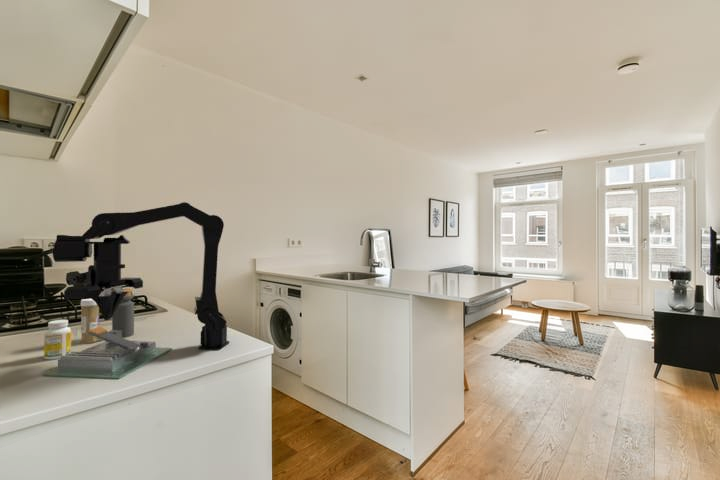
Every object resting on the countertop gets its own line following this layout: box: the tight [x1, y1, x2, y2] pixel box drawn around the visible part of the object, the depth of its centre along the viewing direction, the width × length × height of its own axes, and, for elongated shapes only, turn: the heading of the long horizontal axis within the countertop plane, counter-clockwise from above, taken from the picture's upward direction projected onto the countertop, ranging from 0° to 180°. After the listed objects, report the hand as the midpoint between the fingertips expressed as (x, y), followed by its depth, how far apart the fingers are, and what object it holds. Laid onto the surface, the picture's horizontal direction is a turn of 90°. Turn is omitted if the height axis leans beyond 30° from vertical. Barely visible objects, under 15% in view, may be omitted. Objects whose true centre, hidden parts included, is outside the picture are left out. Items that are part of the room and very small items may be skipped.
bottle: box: [111, 288, 135, 338], centre depth 107 cm, size 6×6×15 cm
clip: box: [97, 329, 122, 342], centre depth 90 cm, size 3×5×3 cm, turn 177°
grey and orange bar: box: [89, 326, 144, 352], centre depth 85 cm, size 14×3×1 cm, turn 87°
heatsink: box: [43, 340, 173, 380], centre depth 85 cm, size 19×19×4 cm
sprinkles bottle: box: [80, 299, 100, 345], centre depth 101 cm, size 5×5×14 cm
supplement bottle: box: [43, 319, 72, 360], centre depth 89 cm, size 5×5×10 cm
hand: (107, 319), depth 85 cm, fingers closed
